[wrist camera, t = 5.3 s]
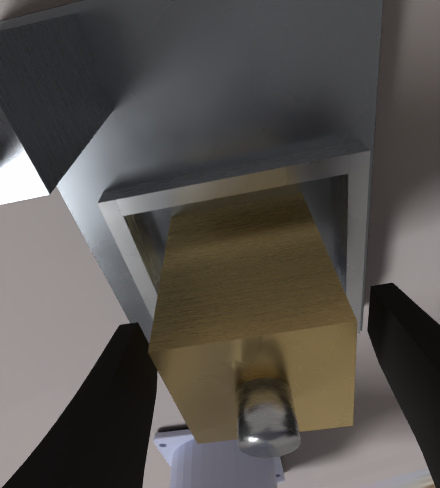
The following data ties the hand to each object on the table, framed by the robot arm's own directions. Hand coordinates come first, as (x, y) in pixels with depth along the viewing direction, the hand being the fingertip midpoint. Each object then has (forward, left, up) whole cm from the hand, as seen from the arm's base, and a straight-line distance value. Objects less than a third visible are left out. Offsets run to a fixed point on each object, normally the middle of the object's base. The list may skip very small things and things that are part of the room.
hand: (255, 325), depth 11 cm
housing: (0, 0, -3) cm, 3 cm away
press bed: (+2, 0, -4) cm, 5 cm away
